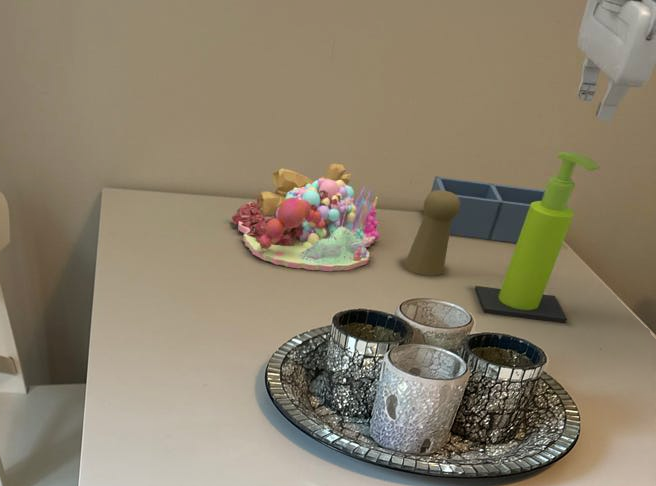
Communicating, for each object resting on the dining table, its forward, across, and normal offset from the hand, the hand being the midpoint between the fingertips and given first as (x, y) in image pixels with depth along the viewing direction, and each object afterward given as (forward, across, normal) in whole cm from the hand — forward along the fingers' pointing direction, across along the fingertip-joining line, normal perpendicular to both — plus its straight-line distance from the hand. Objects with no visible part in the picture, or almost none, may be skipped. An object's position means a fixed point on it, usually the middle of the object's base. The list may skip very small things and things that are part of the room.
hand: (593, 109), depth 116 cm
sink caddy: (+26, +30, 0) cm, 40 cm away
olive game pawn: (+26, +10, +14) cm, 31 cm away
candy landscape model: (+26, +16, +32) cm, 44 cm away
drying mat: (+26, 0, 0) cm, 26 cm away
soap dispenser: (+26, 0, 0) cm, 26 cm away
